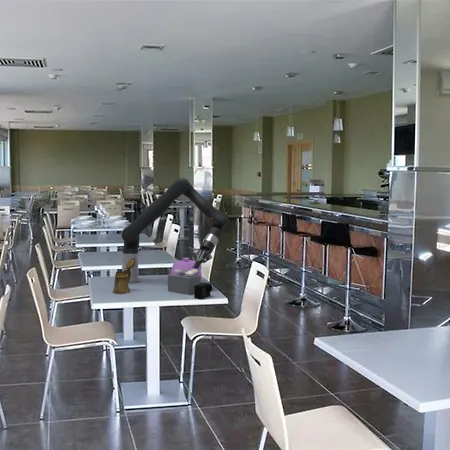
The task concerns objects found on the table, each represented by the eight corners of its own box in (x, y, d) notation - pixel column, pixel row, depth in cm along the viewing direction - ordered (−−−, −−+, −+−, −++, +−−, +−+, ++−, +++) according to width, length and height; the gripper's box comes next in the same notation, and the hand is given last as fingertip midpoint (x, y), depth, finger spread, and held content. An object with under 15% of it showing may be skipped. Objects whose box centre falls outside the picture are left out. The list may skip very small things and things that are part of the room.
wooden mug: (139, 290, 324) (139, 258, 322) (119, 294, 314) (119, 261, 312) (129, 288, 330) (129, 256, 328) (109, 291, 320) (109, 259, 319)
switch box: (179, 288, 333) (179, 272, 332) (200, 291, 324) (200, 275, 323) (167, 291, 325) (168, 275, 324) (188, 294, 316) (189, 278, 315)
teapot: (188, 288, 334) (188, 261, 333) (165, 282, 350) (165, 257, 348) (217, 283, 350) (218, 258, 349) (194, 277, 365) (194, 254, 364)
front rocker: (193, 272, 327) (192, 268, 327) (198, 273, 325) (198, 269, 324) (185, 276, 322) (184, 272, 321) (190, 277, 320) (190, 273, 319)
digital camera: (203, 299, 306) (203, 286, 305) (194, 298, 308) (194, 285, 307) (212, 296, 315) (212, 283, 314) (203, 294, 317) (203, 282, 317)
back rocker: (182, 273, 331) (183, 269, 331) (188, 274, 329) (188, 270, 329) (174, 272, 325) (175, 268, 326) (180, 273, 323) (180, 269, 323)
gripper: (197, 238, 336) (183, 262, 327) (215, 240, 328) (202, 264, 319) (202, 246, 341) (189, 270, 332) (221, 248, 333) (207, 273, 324)
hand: (195, 267), depth 326 cm, fingers closed
